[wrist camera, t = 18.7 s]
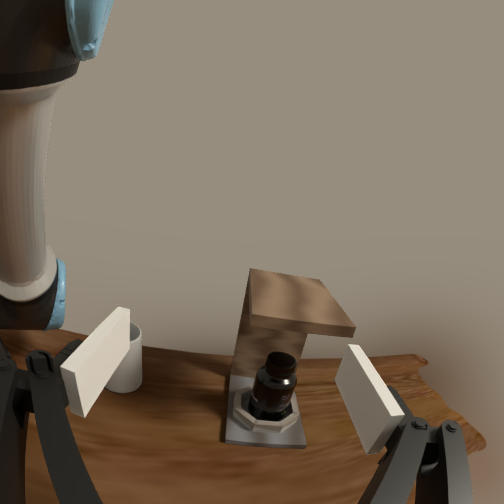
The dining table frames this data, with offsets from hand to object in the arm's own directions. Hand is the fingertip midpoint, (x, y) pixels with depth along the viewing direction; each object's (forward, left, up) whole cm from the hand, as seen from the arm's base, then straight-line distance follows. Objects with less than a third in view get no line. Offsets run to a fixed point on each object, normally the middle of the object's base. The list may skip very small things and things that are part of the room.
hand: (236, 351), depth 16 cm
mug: (-19, +28, -28) cm, 44 cm away
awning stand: (+9, +25, -28) cm, 39 cm away
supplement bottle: (+9, +24, -27) cm, 37 cm away
